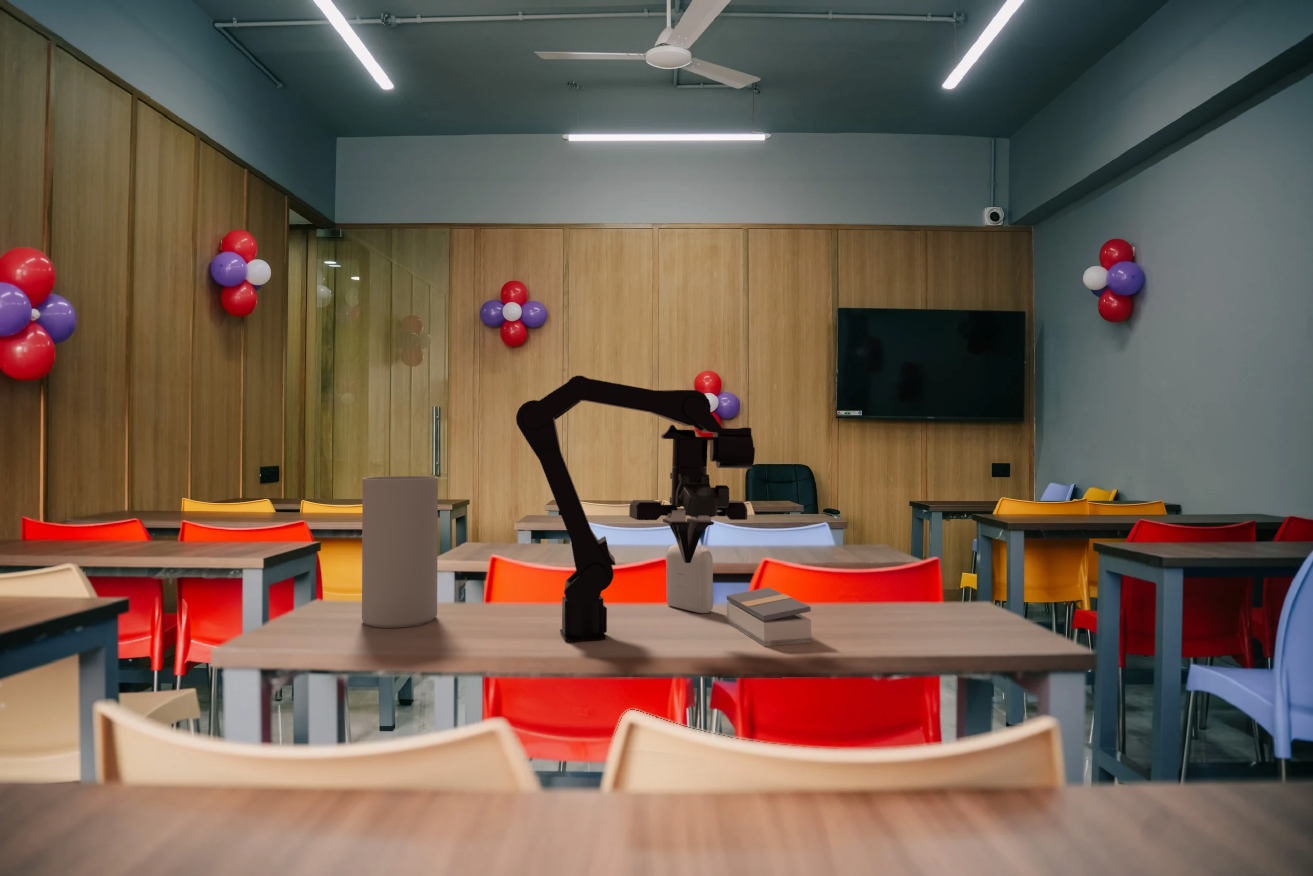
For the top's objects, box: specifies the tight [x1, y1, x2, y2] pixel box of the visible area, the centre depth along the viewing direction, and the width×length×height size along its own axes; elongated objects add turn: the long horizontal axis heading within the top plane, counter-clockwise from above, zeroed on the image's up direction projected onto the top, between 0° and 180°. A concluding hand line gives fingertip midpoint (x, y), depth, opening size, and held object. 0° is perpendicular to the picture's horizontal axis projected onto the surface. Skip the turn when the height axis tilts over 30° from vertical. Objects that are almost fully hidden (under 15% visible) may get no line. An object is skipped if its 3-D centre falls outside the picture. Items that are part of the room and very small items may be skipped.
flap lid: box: [725, 587, 812, 621], centre depth 126 cm, size 8×16×1 cm, turn 16°
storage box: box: [726, 601, 812, 647], centre depth 126 cm, size 8×16×4 cm, turn 16°
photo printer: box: [665, 543, 714, 614], centre depth 143 cm, size 10×4×12 cm, turn 39°
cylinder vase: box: [361, 475, 439, 629], centre depth 133 cm, size 12×12×25 cm
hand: (687, 562), depth 124 cm, fingers closed
